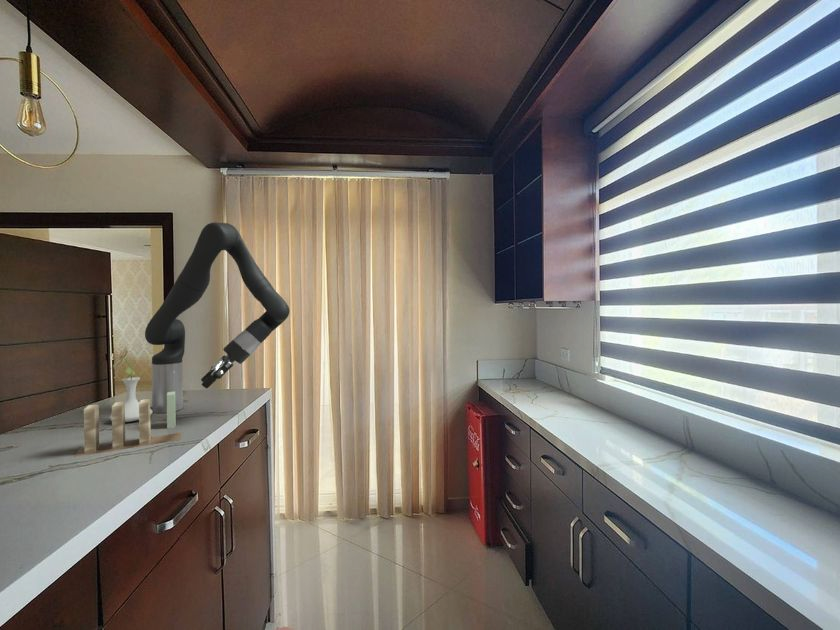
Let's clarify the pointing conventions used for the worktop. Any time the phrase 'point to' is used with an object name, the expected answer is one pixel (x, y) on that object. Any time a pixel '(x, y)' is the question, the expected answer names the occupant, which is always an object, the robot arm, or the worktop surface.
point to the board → (132, 444)
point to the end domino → (91, 428)
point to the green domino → (171, 410)
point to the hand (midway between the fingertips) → (203, 384)
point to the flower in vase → (129, 389)
